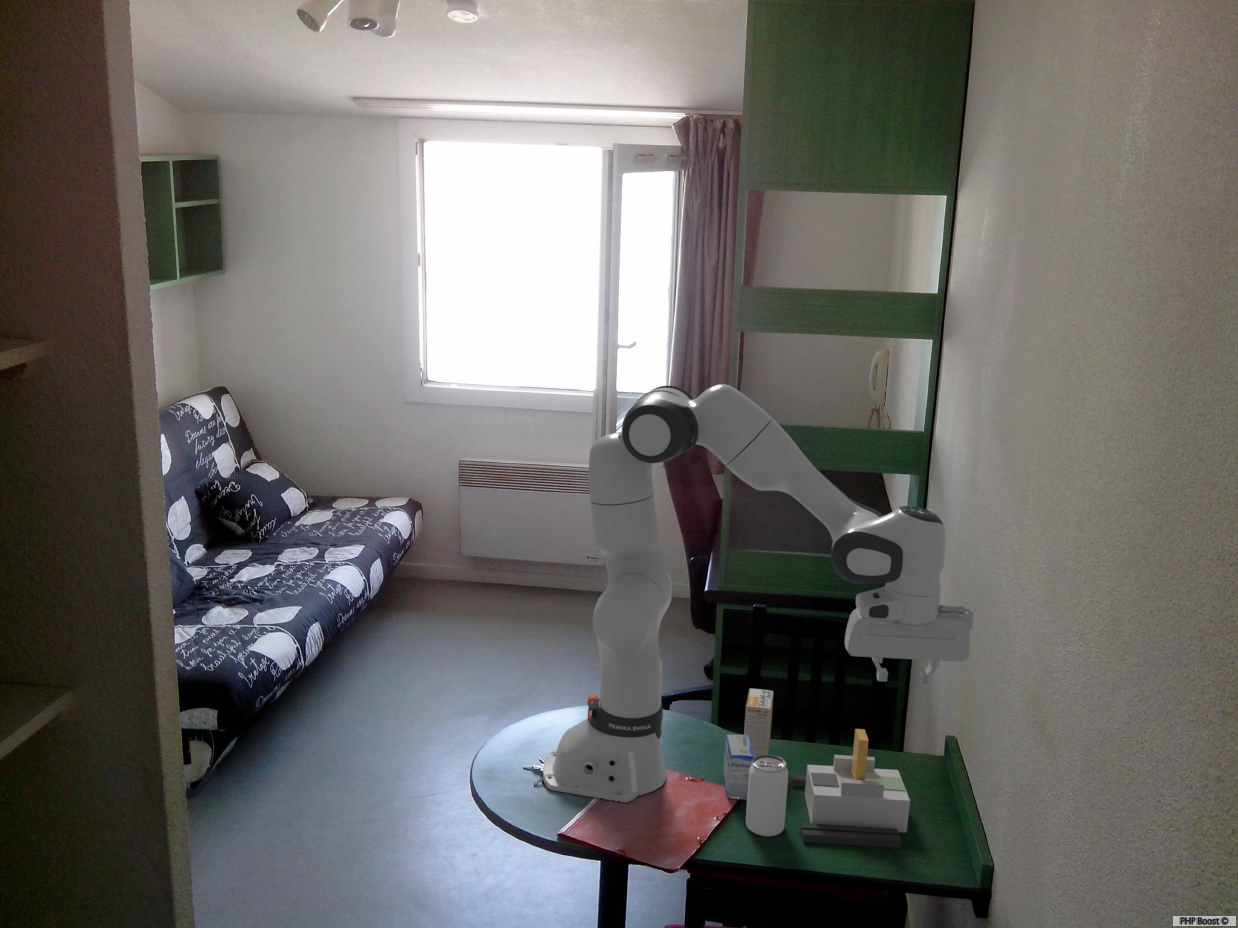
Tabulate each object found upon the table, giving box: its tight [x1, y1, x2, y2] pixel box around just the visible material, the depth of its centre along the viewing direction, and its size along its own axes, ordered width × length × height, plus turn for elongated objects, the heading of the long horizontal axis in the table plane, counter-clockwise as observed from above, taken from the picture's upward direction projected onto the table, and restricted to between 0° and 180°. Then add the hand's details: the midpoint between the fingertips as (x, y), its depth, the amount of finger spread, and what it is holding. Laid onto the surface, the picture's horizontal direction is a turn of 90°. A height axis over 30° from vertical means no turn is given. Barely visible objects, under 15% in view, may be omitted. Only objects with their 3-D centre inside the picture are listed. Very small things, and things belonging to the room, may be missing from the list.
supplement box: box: [743, 688, 774, 757], centre depth 198 cm, size 8×5×13 cm, turn 168°
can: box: [745, 754, 789, 838], centre depth 177 cm, size 6×6×12 cm
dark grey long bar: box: [790, 774, 806, 788], centre depth 191 cm, size 16×1×1 cm, turn 87°
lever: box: [851, 728, 869, 780], centre depth 181 cm, size 2×6×9 cm, turn 177°
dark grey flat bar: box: [800, 822, 902, 849], centre depth 175 cm, size 16×3×1 cm, turn 87°
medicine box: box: [722, 734, 755, 801], centre depth 189 cm, size 8×4×9 cm, turn 1°
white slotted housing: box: [804, 754, 911, 833], centre depth 182 cm, size 16×10×8 cm, turn 87°
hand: (903, 681), depth 177 cm, fingers open, 6 cm apart
